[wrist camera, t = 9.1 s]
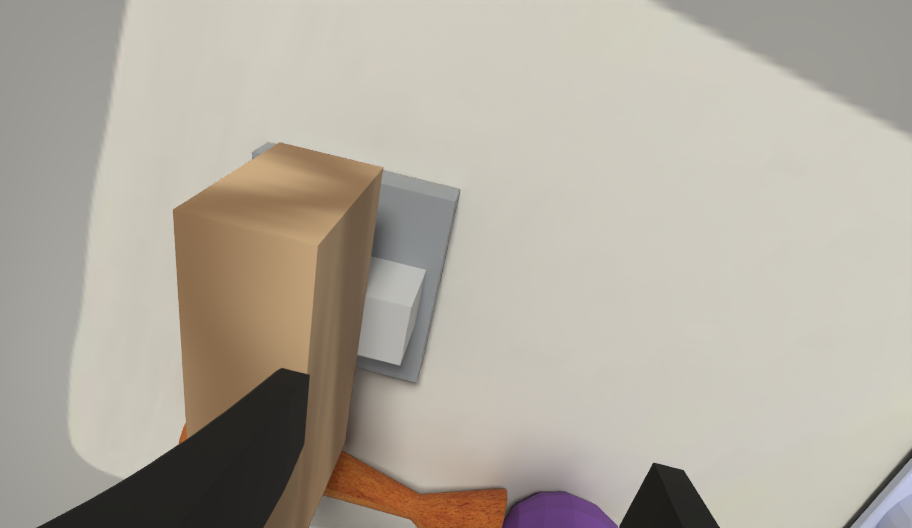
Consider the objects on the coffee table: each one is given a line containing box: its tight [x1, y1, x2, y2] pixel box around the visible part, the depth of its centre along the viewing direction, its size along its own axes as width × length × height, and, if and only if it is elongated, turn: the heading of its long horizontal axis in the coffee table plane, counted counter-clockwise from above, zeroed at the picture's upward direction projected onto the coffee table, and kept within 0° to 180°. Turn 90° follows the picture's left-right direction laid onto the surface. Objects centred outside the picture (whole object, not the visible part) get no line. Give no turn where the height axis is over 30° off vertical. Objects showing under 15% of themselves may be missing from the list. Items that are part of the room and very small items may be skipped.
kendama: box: [179, 423, 618, 528], centre depth 24 cm, size 6×6×20 cm
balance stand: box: [252, 142, 460, 383], centre depth 19 cm, size 7×8×4 cm
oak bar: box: [173, 143, 383, 528], centre depth 16 cm, size 3×11×5 cm, turn 168°
